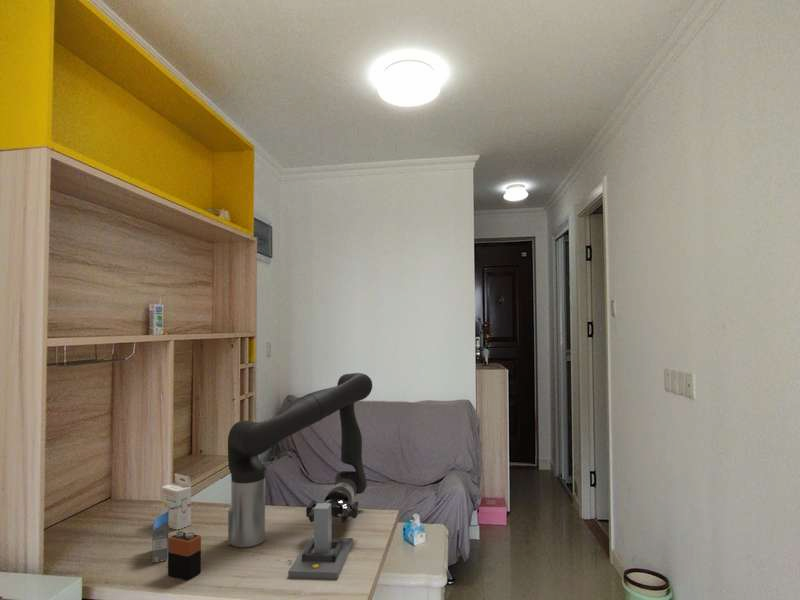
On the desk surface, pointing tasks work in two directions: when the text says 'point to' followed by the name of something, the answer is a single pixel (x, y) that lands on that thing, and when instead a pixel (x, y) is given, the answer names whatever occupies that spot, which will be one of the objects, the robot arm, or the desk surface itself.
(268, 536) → the desk surface
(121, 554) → the desk surface
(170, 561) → the battery
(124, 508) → the desk surface
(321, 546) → the plug
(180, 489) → the ink cartridge box
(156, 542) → the label tape cartridge
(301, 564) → the power dock
